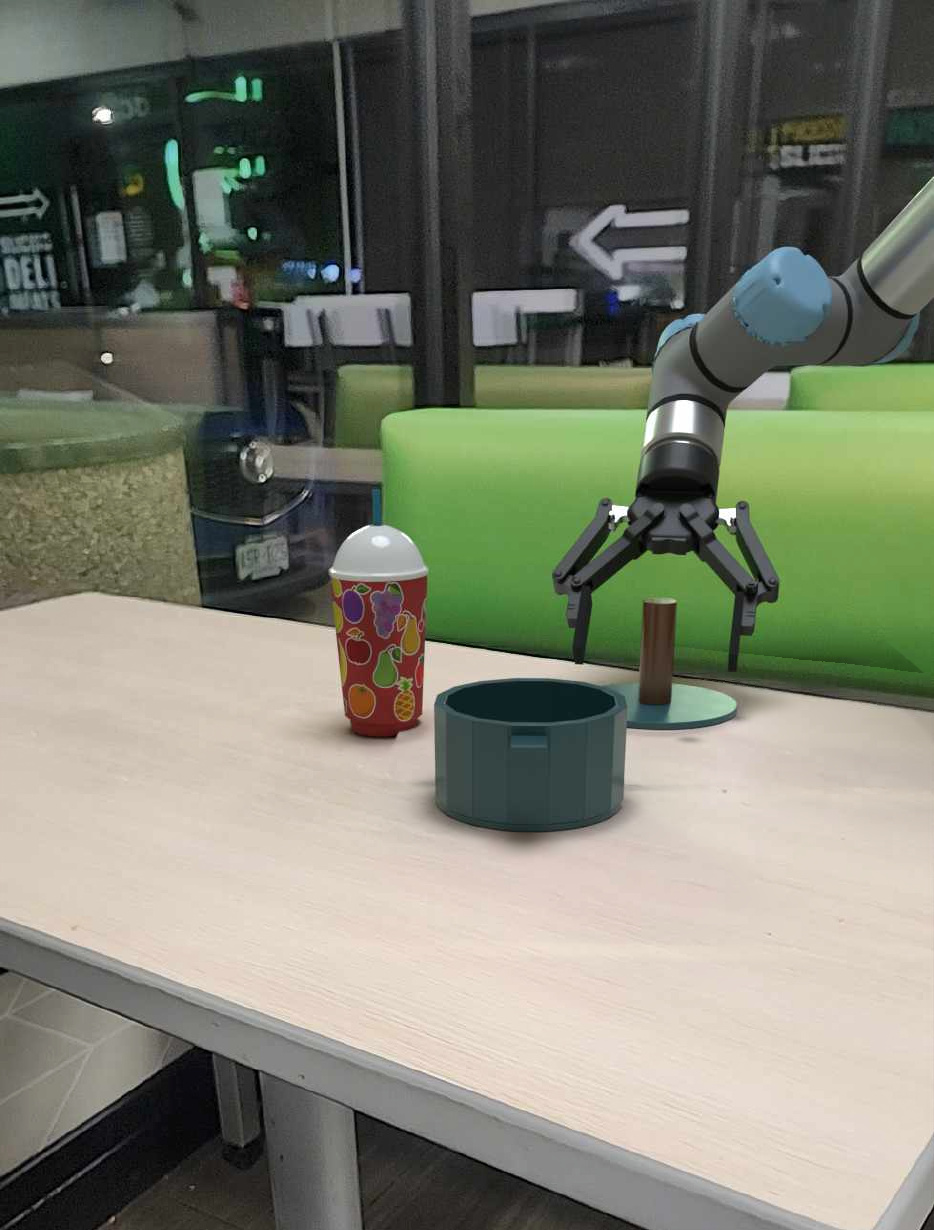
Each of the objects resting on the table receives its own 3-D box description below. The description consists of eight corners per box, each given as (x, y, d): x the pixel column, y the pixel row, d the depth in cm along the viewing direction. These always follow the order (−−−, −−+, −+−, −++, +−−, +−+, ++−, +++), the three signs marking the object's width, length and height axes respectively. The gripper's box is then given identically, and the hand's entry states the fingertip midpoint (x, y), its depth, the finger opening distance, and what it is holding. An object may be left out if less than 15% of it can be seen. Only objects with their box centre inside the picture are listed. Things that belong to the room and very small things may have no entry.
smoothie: (416, 713, 116) (411, 483, 108) (443, 736, 109) (440, 492, 101) (327, 721, 113) (315, 487, 105) (349, 745, 106) (337, 496, 98)
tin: (615, 763, 101) (619, 670, 98) (629, 847, 84) (634, 737, 81) (446, 761, 102) (445, 668, 99) (425, 844, 85) (423, 735, 82)
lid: (725, 695, 122) (733, 586, 117) (747, 737, 108) (757, 616, 104) (571, 693, 122) (574, 586, 118) (573, 735, 109) (577, 615, 105)
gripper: (813, 495, 119) (796, 689, 112) (552, 490, 125) (520, 675, 117) (820, 438, 112) (803, 641, 105) (544, 436, 118) (509, 629, 111)
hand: (654, 660), depth 111 cm, fingers open, 13 cm apart
